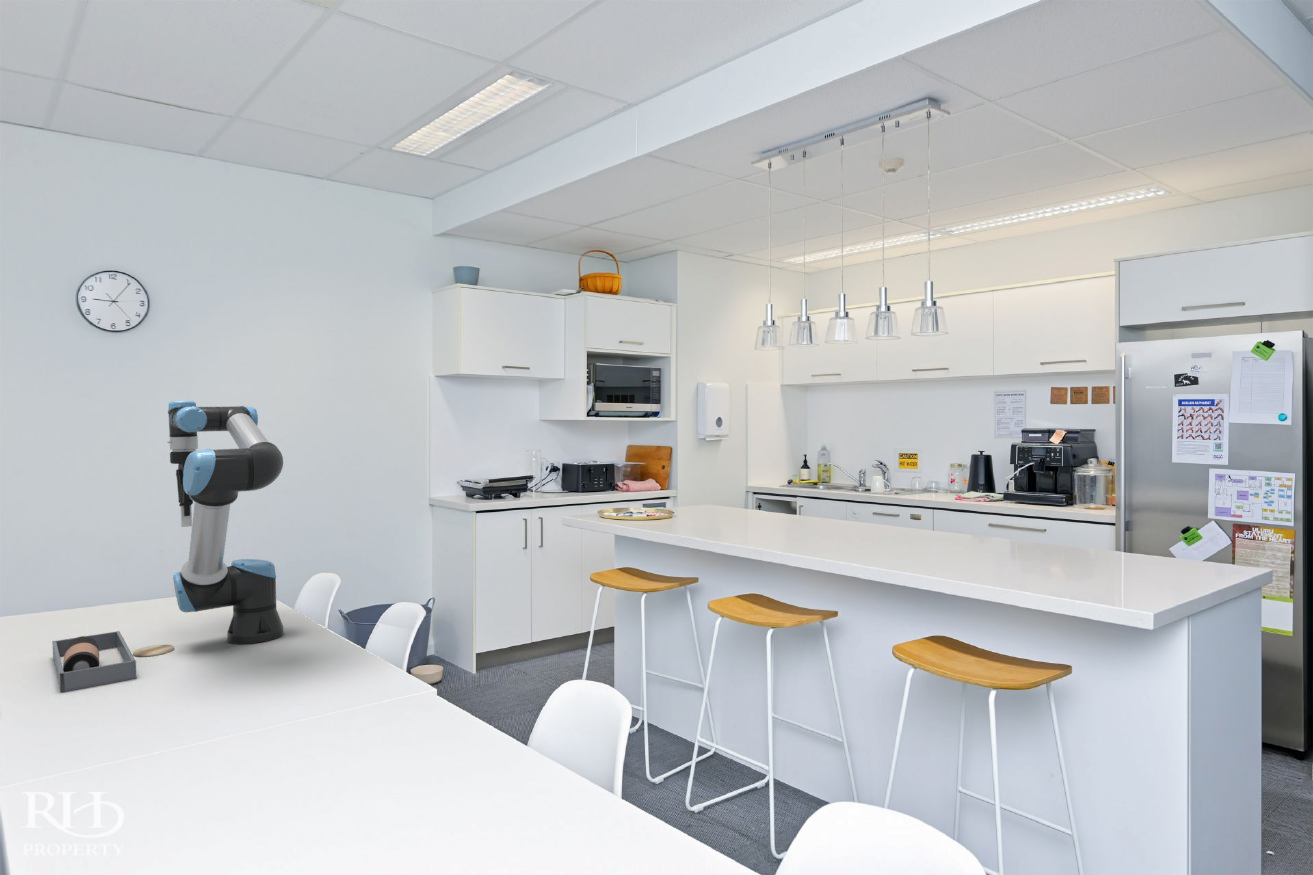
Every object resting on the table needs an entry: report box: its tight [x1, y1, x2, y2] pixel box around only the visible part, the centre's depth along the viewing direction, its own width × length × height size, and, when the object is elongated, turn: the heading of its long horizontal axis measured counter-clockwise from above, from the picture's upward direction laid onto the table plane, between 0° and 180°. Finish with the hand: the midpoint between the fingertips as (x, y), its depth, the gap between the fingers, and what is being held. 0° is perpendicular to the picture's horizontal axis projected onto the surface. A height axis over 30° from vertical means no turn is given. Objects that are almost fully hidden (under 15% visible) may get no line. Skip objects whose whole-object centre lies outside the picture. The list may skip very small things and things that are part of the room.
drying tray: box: [51, 630, 137, 693], centre depth 216 cm, size 37×16×4 cm, turn 39°
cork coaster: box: [132, 644, 175, 658], centre depth 229 cm, size 10×10×1 cm
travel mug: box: [62, 635, 100, 672], centre depth 211 cm, size 8×8×20 cm
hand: (186, 526), depth 251 cm, fingers closed
